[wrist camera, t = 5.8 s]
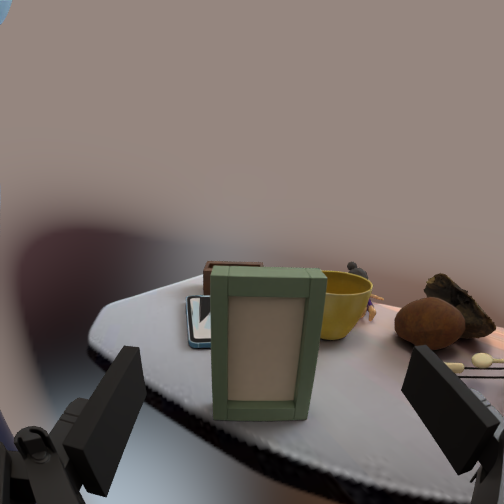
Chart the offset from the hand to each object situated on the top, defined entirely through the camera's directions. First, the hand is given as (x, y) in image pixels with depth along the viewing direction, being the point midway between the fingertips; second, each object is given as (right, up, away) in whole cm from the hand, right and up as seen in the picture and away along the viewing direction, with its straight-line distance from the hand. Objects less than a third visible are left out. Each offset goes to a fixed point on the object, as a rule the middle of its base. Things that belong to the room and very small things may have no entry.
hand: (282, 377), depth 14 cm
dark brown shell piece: (+31, 0, +24) cm, 39 cm away
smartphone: (-7, -4, +30) cm, 31 cm away
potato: (+24, -3, +24) cm, 34 cm away
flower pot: (+9, -5, +27) cm, 29 cm away
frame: (-1, -8, +12) cm, 14 cm away
